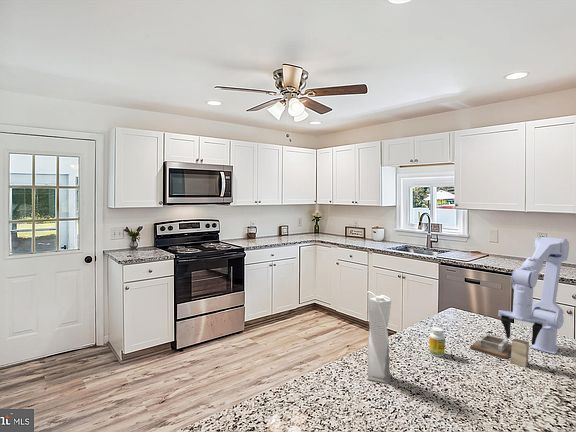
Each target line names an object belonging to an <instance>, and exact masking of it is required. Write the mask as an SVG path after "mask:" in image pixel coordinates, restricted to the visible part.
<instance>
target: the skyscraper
mask: <svg viewBox="0 0 576 432" xmlns="http://www.w3.org/2000/svg"><path fill="white" fill-rule="evenodd" d="M366 294H367V301H368V302H367V305H368V308H367V309H368V324H369V325H368V326H369V331H368V339H367V340H368V341H367V377H366V378H367V379H366V380H367V381H370V382H375V383H381V384H386V385H390V384H391V378H392V372H391V369H390V361H391V356H390V345H389V344H390V343H389V342H390V341H389V333H388V325H389V320H390V315H391V308H392V305H391V304H392V299H391V298H390V297H389V296H386V295H384V294H380V295H376V294H375V293H374V292H372V291H370V290H368V291H367V292H366ZM369 294H372V295H373V296H374V297H370V295H369Z"/></svg>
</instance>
